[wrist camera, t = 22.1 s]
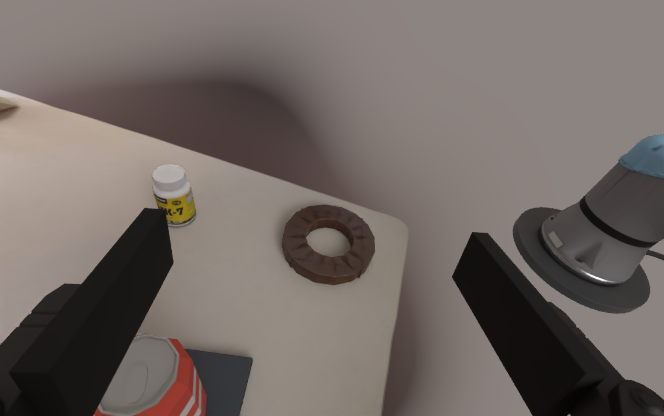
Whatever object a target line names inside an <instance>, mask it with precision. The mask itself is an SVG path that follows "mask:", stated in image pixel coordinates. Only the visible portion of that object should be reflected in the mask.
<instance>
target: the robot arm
mask: <svg viewBox="0 0 664 416" xmlns="http://www.w3.org/2000/svg"><path fill="white" fill-rule="evenodd" d="M618 161H619V162H618V163H617V164H616V166H614V167H613V168H612V169H611V170H610V171H609V172H608V173H607V174H606V175H605V176H604V177H603V178H602V179H601V180H600V181H599V182H598V183H597V184H596V185H595V186H594V187H593V188H592V189H591V190H590V191H589V192H588V193H587V194H586V195H585V196H584V197H583V198H582V199H581V200H580V201H579V202H578V203H576V204H574V205H572V206H570V207H568V208H566V209H564V210H562V211H560V212H559V213H557V214H554V215H552V216H551V217H549V218H547V219H546V220H545V221H544V222H543V223H542V225H541V226H540V227H539V230H538V236H539V240H540V242H541V244H542V246H543V248H544V249H545V251H546V252H547V253H548V254H549V255H550V257H551V258H552V259H553V260H554V261H555V262H556V263H558V264H559V265H560V266H561V267H562V268H564V269H565V270H566V271H568V272H569V273H571V274H573V275H574V276H576V277H578V278H580V279H582V280H584V281H586V282H589V283H591V284H594V285H598V286H602V287H616V286H619V285H621V284H622V283H624V282H625V281H627V280H628V279H630V278H631V277H632V275H633V274H634V271H635V269H636V268H637V266H638V265H639V263H640V262H641V260H642V259H643V257H644V256H645V254H646V255H650V256H654V257H657V258H659V259H662V260H664V255H662V254H660V253H657V252H654V251H650V250H649V248H651V247H652V246H653V245H655V244H656V243H658V242H659V241H661V240H662V239H664V134H663V135H662V134H661V135H653V136H649V137H647V138H645V139H643V140H641V141H640V142H639V143H638V144H637V145H635V146H634V147H633V148H632V149H631V150H630V151H629V152H628V153H627V154H625V155H623V156H621V157H620V159H619V160H618ZM172 265H173V256H172V249H171V243H170V236H169V229H168V223H167V216H166V210H165V209H151V208H144V209H143V211H142V212H141V213H140V214H139V215H138V217H137V218H136V219H135V220H134V221H133V223H132V224H131V225H130V226H129V227H128V229H127V230H126V231H125V232H124V234H123V235H122V236H121V237H120V238H119V240H118V241H117V242H116V243H115V244H114V246H113V247H112V248H111V249H110V250H109V252H108V253H107V254H106V255H105V256H104V258H103V259H102V260H101V261H100V262H99V264H98V265H97V266H96V267H95V268H94V270H93V271H92V272H91V273H90V274H89V276H88V277H87V278H86V279H85V281H84V282H83V283H82V284H63V285H62V286H60V287H59V288H57V289H56V290H54V291H53V292H51V293H50V294H48V295H46V296H45V297H44V298H43V299H42V300H41V302H40V303H39V304H38V305H37V306H36V307H35V308H34V309H33V310H32V313H31V314H29V315H28V316H27V317H26V318H25V319H24V320H23V321H22V322H21V323H20V326H19V327H16V329H15V330H14V331H13V332H12V333H11V334H10V335H9V336H8V337H7V338H6V339H5V340H4V342H3V343H2V344H1V345H0V416H93V415H94V413H95V412H96V410H97V408H98V406H99V404H100V402H101V400H102V398H103V396H104V394H105V393H106V391H107V389H108V387H109V385H110V383H111V381H112V379H113V377H114V375H115V373H116V372H117V370H118V368H119V366H120V364H121V362H122V360H123V358H124V356H125V354H126V353H127V351H128V349H129V347H130V345H131V343H132V341H133V339H134V337H135V335H136V333H137V332H138V330H139V328H140V326H141V324H142V322H143V320H144V318H145V316H146V314H147V313H148V311H149V309H150V307H151V305H152V303H153V301H154V299H155V297H156V295H157V293H158V292H159V290H160V288H161V286H162V284H163V282H164V280H165V278H166V276H167V274H168V273H169V271H170V269H171V267H172ZM452 278H453V280H454V281H455V283H456V285H457V287H458V288H459V290H460V291H461V293H462V295H463V297H464V298H465V300H466V302H467V304H468V305H469V307H470V309H471V310H472V312H473V314H474V316H475V317H476V319H477V321H478V323H479V324H480V326H481V328H482V329H483V331H484V333H485V335H486V336H487V338H488V340H489V342H490V343H491V345H492V347H493V348H494V350H495V352H496V354H497V355H498V357H499V359H500V360H501V362H502V364H503V366H504V367H505V369H506V371H507V372H508V374H509V376H510V377H511V379H512V381H513V383H514V384H515V386H516V388H517V390H518V391H519V393H520V395H521V396H522V398H523V400H524V402H525V403H526V405H527V407H528V408H529V410H530V412H531V414H532V415H533V416H567V415H568V414H570V415H571V416H664V400H663V399H662V398H661V397H660V396H659V395H657V394H656V393H655V392H654V391H652V390H651V389H649V388H647V387H646V386H644V385H642V384H640V383H637V382H635V381H632V380H625V379H624V378H623V377H622V376H621V375H620V374H619V372H618V371H617V370H616V369H615V368H614V367H613V366H612V365H611V364H610V362H608V360H607V359H606V358H605V357H604V356H603V355H602V354H601V352H600V351H599V350H598V349H597V348H596V347H595V346H594V345H593V343H592V342H591V341H590V340H589V339H588V338H586V337H585V335H584V333H582V331H581V330H580V329H579V328H577V327H576V325H575V324H574V322H573V321H572V320H571V319H570V318H569V317H568V316H567V314H566V313H564V312H563V311H562V310H561V309H559V308H558V307H556V306H555V305H554V304H553V303H551V302H547V301H546V300H545V299H544V298H543V297H542V295H541V294H540V293H539V292H538V291H537V290H536V288H535V287H534V286H533V285H532V284H531V283H530V281H529V280H528V279H527V278H526V277H525V276H524V275H523V273H522V272H521V271H520V270H519V269H518V268H517V266H516V265H515V264H514V263H513V262H512V261H511V260H510V258H509V257H508V256H507V255H506V254H505V253H504V252H503V250H502V249H501V248H500V247H499V246H498V245H497V243H495V241H494V240H493V239H492V238H491V236H490V235H489V234H488V233H478V232H472V234H471V236H470V238H469V241H468V243H467V245H466V247H465V249H464V251H463V254H462V256H461V258H460V260H459V263H458V265H457V267H456V269H455V271H454V274H453V276H452Z"/></svg>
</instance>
